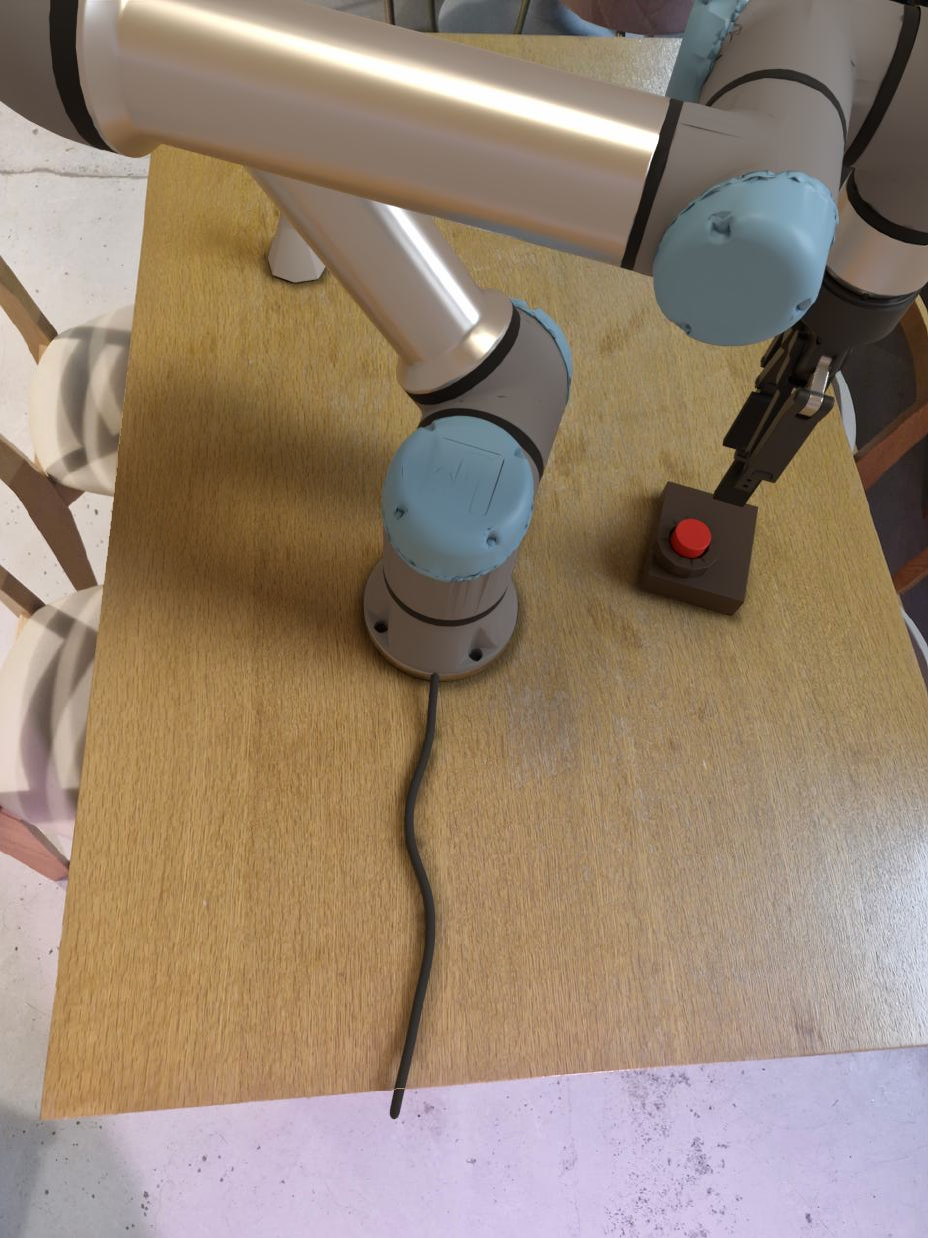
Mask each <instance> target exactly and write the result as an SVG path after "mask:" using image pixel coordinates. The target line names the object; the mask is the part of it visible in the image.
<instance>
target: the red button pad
mask: <svg viewBox="0 0 928 1238" xmlns="http://www.w3.org/2000/svg"><path fill="white" fill-rule="evenodd" d="M713 495H714V493H711V492H708V491H704V490H702V489H699V488H698V489H697V488H694V487H690V486H687V485H683V484H680V483H676V482H673V481H669V480H667V482H666V484H665V485H664V487H663V489H662V491H661V493H660V495H659V497H658V500H657V505H656V509H655V515H654V519H653V524H652V529H651V534H650V538H649V542H648V547H647V552H646V556H645V562H644V566H643V571H642V576H641V580H640V584H639V590H641V591H642V590H643V591H646V592H650V593H653V594H656V595H659V596H663V597H667V598H671V599H674V600H677V601H680V602H683V603H687V604H691V605H694V606H696V607H697V606H698V607H702V608H704V609H708V610H712V611H715V612H717V613H721V614H725V615H728V616H731V617H732V616H734V615H735V614H736V612H737V611H738V610H739V609H740V608H741V607H742V606H743V604H744V603H745V600H746V595H747V594H746V593H747V587H748V579H749V573H750V566H751V560H752V554H753V553H752V552H753V547H754V540H755V533H756V527H757V521H758V513H759V506H756V505H753V504H750V503H748V502H747V503H746V504H745V505H744V507H739V506H736V505H732V504H729V503H725V502H722V501H718V500H715V499H713ZM686 519H695V520H698V521H701V522H702V523H704V524H705V525H706V526H707V527H708V529H709V531H710V533H711V541H710V543H709V545H708V546H707V548H706V549H705V551H704V552H703V553H702V554H701V555H700V556H698V557H696V558H686V557H683V556H681V555H679V554H678V553H677V552H675V550H674V549H673V547H672V545H671V535H672V533H673V532H674V530H675V528H676V527H677V525H678V524H679V523H680V522H681V521H683V520H686Z"/></svg>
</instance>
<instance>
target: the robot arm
mask: <svg viewBox="0 0 928 1238" xmlns="http://www.w3.org/2000/svg"><path fill="white" fill-rule="evenodd" d="M685 26H686V27H685V29H684V32H683V36H682V39H681V41H680V45H679V47H678V52H677V55H676V58H675V62H674V65H673V68H672V71H671V74H670V78H669V81H668V84H667V88H666V91H665V93H664V95H662V94H661V95H660V94H656V93H654V92H650V91H645V90H641V89H639V88H634V87H630V86H626V85H624V84H623V85H622V84H619V83H616V82H613V81H612V82H611V81H607V80H603V79H600V78H597V77H592V76H589V75H585V74H581V73H577V72H573V71H569V70H565V69H563V68H558V67H555V66H550V65H547V64H543V63H539V62H535V61H532V60H527V59H524V58H520V57H515V56H513V55H508V54H504V53H501V52H497V51H493V50H491V49H490V50H489V49H486V48H482V47H478V46H474V45H471V44H467V43H464V42H459V41H455V40H452V39H447V38H444V37H440V36H436V35H433V34H429V33H425V32H422V31H417V30H413V29H410V28H406V27H403V26H399V25H394V24H391V23H387V22H383V21H379V20H375V19H372V18H367V17H365V16H364V17H363V16H360V15H356V14H353V13H349V12H345V11H342V10H338V9H333V8H330V7H326V6H322V5H319V4H315V3H311V2H307V1H303V0H0V102H1V103H2V104H3V105H4V106H6V107H8V108H9V109H10V110H12V111H13V112H15V114H17V115H19V116H21V117H22V118H23V119H25V120H27V121H28V122H30V123H32V124H34V125H36V126H38V127H40V128H42V129H44V130H46V131H49V132H50V133H53V134H55V135H57V136H59V137H62V138H64V139H67V140H70V141H71V142H75V143H77V144H81V145H84V146H87V147H90V148H93V149H97V150H100V151H105V152H109V153H113V154H116V155H119V156H123V157H125V158H131V159H141V158H144V157H147V156H149V155H150V154H152V153H154V151H156V150H157V149H158V148H159V147H160V146H161V145H165V146H167V147H171V148H172V147H173V148H176V149H180V150H183V151H187V152H191V153H194V154H198V155H201V156H205V157H209V158H212V159H217V160H220V161H224V162H228V163H232V164H235V165H237V166H238V165H240V166H242V167H243V168H244V170H245V171H247V173H248V174H249V176H251V178H252V179H253V180H254V182H255V183H256V184H257V185H258V186H259V187H260V189H261V190H262V191H263V192H264V194H265V195H266V196H267V197H268V199H269V200H270V201H271V202H272V204H273V205H274V206H275V207H276V209H278V211H279V213H280V212H281V213H282V214H283V215H284V217H285V218H286V219H287V220H288V221H289V223H290V224H291V225H292V226H293V228H294V229H295V230H296V231H297V232H298V234H299V235H300V236H301V237H302V239H303V240H304V241H305V242H306V243H307V245H308V246H309V247H310V248H311V249H312V251H313V252H314V253H315V254H316V256H317V257H318V258H319V259H320V260H321V262H322V263H323V264H324V265H325V266H326V267H325V269H327V270H328V272H329V273H330V274H331V275H332V276H333V277H334V279H335V280H336V281H337V283H338V284H339V285H340V286H341V287H342V289H343V290H344V291H345V292H346V294H347V295H348V296H349V297H350V298H351V300H352V301H353V302H354V303H355V304H356V305H357V307H358V308H359V310H361V312H362V313H363V314H364V316H365V317H366V318H367V319H368V320H369V321H370V323H371V324H372V325H373V327H374V328H375V329H376V330H377V331H378V332H379V334H380V335H381V336H382V338H383V339H384V340H385V341H386V342H387V343H388V345H389V346H390V347H391V348H392V349H393V351H394V352H395V353H396V355H397V361H396V369H395V376H396V377H395V378H396V380H397V383H398V384H399V386H400V387H401V388H402V390H403V391H404V392H405V393H406V395H407V396H408V397H409V398H410V399H411V400H412V402H414V405H416V406H417V408H418V409H419V410H420V412H421V417H420V420H419V422H418V425H417V427H416V429H415V430H414V431H413V432H411V433H410V434H409V435H408V436H407V437H406V438H405V439H404V440H403V441H402V443H400V445H399V446H398V447H397V449H396V451H395V452H394V454H393V456H392V457H391V460H390V462H389V465H388V468H387V471H386V474H385V477H384V480H383V484H382V490H381V493H382V494H381V495H382V499H381V505H380V507H381V509H380V510H381V518H382V521H383V522H382V557H381V559H379V561H378V562H377V564H376V565H375V567H373V569H372V571H371V572H370V575H369V577H368V579H367V583H366V585H365V587H364V588H365V589H364V594H363V615H364V616H363V617H364V623H365V627H366V630H367V634H368V636H369V639H370V640H371V643H372V644H373V645H374V647H375V649H376V650H377V651H378V652H379V654H380V655H381V656H382V657H383V658H384V659H385V660H386V661H387V662H389V663H390V664H391V665H393V666H394V667H395V668H397V669H398V670H400V671H401V672H403V673H406V674H408V675H410V676H413V677H415V678H418V679H423V680H428V681H429V692H428V702H427V712H426V713H427V714H426V726H425V734H424V739H423V743H422V748H421V751H420V755H419V758H418V761H417V763H416V768H415V770H414V773H413V775H412V779H411V781H410V784H409V787H408V792H407V794H406V801H405V806H404V821H403V822H404V823H403V824H404V836H405V842H406V848H407V851H408V854H409V858H410V860H411V864H412V867H413V869H414V872H415V875H416V878H417V880H418V884H419V887H420V890H421V894H422V898H423V905H424V913H425V914H424V915H425V936H424V937H425V938H424V946H423V955H422V962H421V966H420V971H419V976H418V980H417V983H416V984H417V986H416V989H415V993H414V997H413V1002H412V1007H411V1012H410V1016H409V1021H408V1026H407V1031H406V1036H405V1040H404V1046H403V1050H402V1053H401V1058H400V1063H399V1067H398V1071H397V1075H396V1079H395V1084H394V1088H393V1091H392V1092H393V1093H392V1098H391V1101H390V1107H389V1117H390V1119H392V1120H397V1119H398V1118H399V1116H400V1115H401V1111H402V1110H401V1109H402V1104H403V1099H404V1094H405V1092H406V1091H405V1090H406V1086H407V1082H408V1078H409V1073H410V1070H411V1069H410V1068H411V1065H412V1060H413V1057H414V1056H413V1055H414V1051H415V1048H416V1047H415V1046H416V1043H417V1037H418V1031H419V1026H420V1021H421V1017H422V1012H423V1008H424V1007H423V1006H424V1003H425V999H426V998H425V997H426V993H427V989H428V985H429V980H430V976H431V975H430V974H431V971H432V965H433V960H434V953H435V944H436V943H435V942H436V909H435V907H436V906H435V902H434V896H433V892H432V888H431V885H430V881H429V878H428V876H427V872H426V870H425V868H424V865H423V861H422V858H421V855H420V852H419V849H418V846H417V840H416V835H415V824H414V823H415V821H414V820H415V819H414V818H415V808H416V807H415V806H416V801H417V796H418V792H419V788H420V785H421V782H422V780H423V777H424V773H425V771H426V768H427V765H428V762H429V758H430V755H431V752H432V747H433V743H434V737H435V730H436V722H437V721H436V720H437V707H438V695H439V687H440V682H449V681H451V682H452V681H458V680H463V679H466V678H470V677H472V676H474V675H477V674H479V673H481V672H483V671H484V670H486V669H487V668H489V667H490V666H491V665H493V664H495V662H496V661H497V660H499V658H500V657H501V656H502V654H504V652H505V651H506V650H507V647H508V646H509V644H510V642H511V640H512V638H513V636H514V635H513V634H514V632H515V629H516V626H517V623H518V617H519V597H518V592H517V589H516V588H517V587H516V586H515V583H514V580H513V577H512V575H513V573H514V572H513V571H514V569H515V565H516V561H517V558H518V555H519V552H520V548H521V545H522V542H523V539H524V538H525V535H526V534H527V531H528V529H529V526H530V523H531V520H532V515H533V512H534V507H535V504H534V503H535V500H536V497H537V494H538V490H539V487H540V484H541V481H542V478H543V476H544V473H545V470H546V468H547V467H546V466H547V464H548V461H549V459H550V455H551V452H552V449H553V446H554V443H555V440H556V437H557V434H558V431H559V428H560V426H561V422H562V419H563V417H564V414H565V412H566V408H567V406H568V404H569V400H570V396H571V395H570V394H571V387H572V386H571V385H572V384H571V382H572V378H573V371H574V364H573V355H572V351H571V347H570V344H569V341H568V339H567V337H566V336H565V334H564V331H563V330H562V329H561V327H560V326H559V324H558V323H557V322H556V321H555V320H554V319H553V318H552V317H551V316H550V315H548V313H546V312H545V311H544V310H543V309H541V308H540V307H536V308H534V309H532V308H530V307H528V302H527V301H525V300H522V299H520V298H516V297H509V296H508V295H507V293H506V292H504V291H503V290H502V289H499V288H494V287H481V286H479V285H478V284H477V282H476V281H475V279H474V278H473V276H472V275H471V273H470V272H469V271H468V269H467V268H466V266H465V264H464V262H463V261H462V260H461V259H460V257H459V256H458V254H457V253H456V252H455V250H454V248H453V247H452V246H451V244H450V243H449V241H448V240H447V238H446V236H444V233H442V231H441V230H440V228H439V227H438V225H437V224H436V222H435V221H434V219H433V218H436V219H438V220H441V221H447V222H450V223H453V224H458V225H461V226H464V227H468V228H473V229H475V230H480V231H483V232H487V233H491V234H495V235H498V236H502V237H505V238H509V239H513V240H517V241H519V242H520V241H521V242H524V243H528V244H532V245H535V246H539V247H543V248H547V249H550V250H553V251H558V252H561V253H565V254H568V255H571V256H572V255H573V256H577V257H580V258H583V259H587V260H591V261H593V262H594V261H595V262H598V263H602V264H606V265H609V266H610V265H611V266H613V267H616V268H620V269H623V270H628V271H631V272H634V273H637V274H640V275H643V276H647V277H650V278H653V279H652V281H653V284H652V285H653V291H654V297H655V300H656V303H657V305H658V307H659V310H660V311H661V314H663V316H664V317H665V318H666V319H667V320H668V321H669V323H673V324H674V325H675V326H677V327H678V328H679V329H680V330H682V331H683V332H684V333H685V335H686V336H687V337H689V338H690V339H693V340H695V341H698V342H700V343H703V344H706V345H711V346H717V347H745V346H750V345H752V346H753V345H755V344H760V343H763V342H765V341H769V340H770V339H772V340H771V342H770V343H769V345H768V347H767V349H766V350H765V352H764V354H763V355H762V356H761V357H760V360H759V363H760V364H759V367H760V368H763V369H762V371H761V372H760V373H758V375H757V377H756V378H755V381H754V389H756V390H755V391H753V390H752V391H751V392H750V393H749V395H748V397H747V399H746V401H745V402H744V403H743V406H742V407H741V408H740V410H739V412H738V414H737V416H736V417H735V419H734V421H733V423H732V424H731V425H730V427H729V429H728V430H727V432H726V434H725V436H724V437H723V439H722V445H721V446H722V447H724V448H728V449H731V450H735V451H734V453H733V461H732V463H730V466H729V468H728V469H727V471H726V472H725V473H724V475H723V477H722V478H721V480H720V482H719V483H718V485H717V486H716V488H715V490H714V491H713V494H714V495H713V499H715V500H718V501H722V502H725V503H729V504H732V505H736V506H739V507H744V505H745V504H746V503H747V504H748V501H749V500H750V498H751V497H752V496H753V494H754V493H755V491H757V488H758V487H759V486H760V484H761V483H762V481H764V482H767V483H772V484H775V483H776V482H777V481H778V480H779V478H781V476H782V474H783V473H784V472H785V470H786V469H787V467H788V466H789V464H790V463H791V462H792V460H793V459H794V457H796V454H797V453H798V452H799V451H800V449H801V447H802V446H803V445H804V443H805V442H806V440H807V439H808V438H809V436H810V435H811V433H812V432H813V431H814V429H815V428H816V427H817V425H818V424H819V423H820V422H821V421H822V420H823V419H824V418H825V417H827V415H829V413H830V412H831V411H832V410H833V408H834V406H835V403H836V401H835V400H836V399H835V396H831V395H829V394H828V395H827V394H826V393H827V391H828V389H829V387H830V386H831V384H832V382H833V380H834V379H835V376H836V375H837V373H839V372H840V371H842V370H843V369H844V368H845V367H846V364H847V363H848V361H849V359H850V358H851V355H852V353H853V349H854V348H857V347H861V346H863V345H867V344H873V343H876V342H878V341H880V340H882V339H884V338H885V337H887V336H889V335H890V333H891V332H892V331H894V329H895V328H896V327H897V325H899V324H898V323H899V322H900V321H901V320H902V318H903V317H904V315H905V314H906V313H907V312H908V310H909V309H910V308H911V306H912V305H913V304H914V302H915V301H916V299H917V298H918V297H919V295H920V293H921V291H922V289H923V287H924V286H925V285H926V284H927V283H928V6H923V5H920V4H918V5H915V6H913V5H909V4H905V3H903V4H902V3H901V2H896V1H894V0H693V3H692V7H691V10H690V13H689V17H688V20H687V22H686V25H685ZM842 167H845V168H850V167H851V168H852V170H850V172H849V173H848V175H847V177H846V178H845V181H844V182H843V184H842V186H841V177H842ZM840 187H841V188H840ZM396 1088H405V1089H396ZM394 1089H396V1090H394Z"/></svg>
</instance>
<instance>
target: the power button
mask: <svg viewBox="0 0 928 1238" xmlns="http://www.w3.org/2000/svg"><path fill="white" fill-rule="evenodd" d="M710 541H711V533H710V531H709V529H708V527H707V526H706V525H705V524H704V523H702V522H701V521H698V520H695V519H686V520H683V521H681V522H680V523H679V524H678V525H677V527H676V528H675V530H674V532H673V533H672V535H671V545H672V547H673V549H674V550H675V552H677V553H678V554H679V555H681V556H683V557H686V558H696V557H698V556H700V555H701V554H702V553H703V552H704V551H705V549H706V548H707V546H708V545H709V543H710Z"/></svg>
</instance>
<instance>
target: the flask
mask: <svg viewBox="0 0 928 1238" xmlns="http://www.w3.org/2000/svg"><path fill="white" fill-rule="evenodd" d="M271 243H272V244H271V246H270V249H269V253H268V256H267V261H268V264H269V267H270V270H271V274H272V276H274V277H278V278H280V279H284V280H286V281H289V282H292V283H300V282H308V281H312V280H313V281H315V280H319V278H320V277H321V276H322V274H323V272H324V270H325V269H326V266H325V265H324V264H323V263H322V262H321V260H320V259H319V258H318V257H317V256H316V254H315V253H314V252H313V251H312V249H311V248H310V247H309V246H308V245H307V243H306V242H305V241H304V240H303V239H302V237H301V236H300V235H299V234H298V232H297V231H296V230H295V229H294V228H293V226H292V225H291V224H290V223H289V221H288V220H287V219H286V218H285V217H284V215H283V214H282V213H281V212H280V211H279V218H278V223H277V225H276V230H275V232H274V237H273V240H272V242H271Z"/></svg>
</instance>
